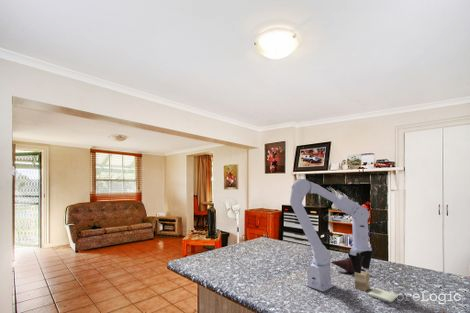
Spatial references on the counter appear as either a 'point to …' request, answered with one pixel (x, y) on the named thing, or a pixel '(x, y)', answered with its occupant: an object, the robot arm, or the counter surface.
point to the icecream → (346, 265)
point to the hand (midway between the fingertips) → (361, 270)
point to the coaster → (383, 295)
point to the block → (362, 281)
